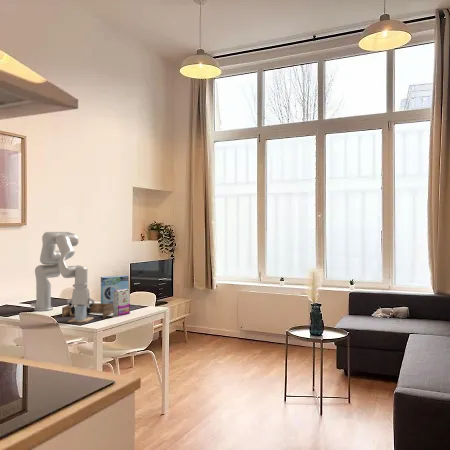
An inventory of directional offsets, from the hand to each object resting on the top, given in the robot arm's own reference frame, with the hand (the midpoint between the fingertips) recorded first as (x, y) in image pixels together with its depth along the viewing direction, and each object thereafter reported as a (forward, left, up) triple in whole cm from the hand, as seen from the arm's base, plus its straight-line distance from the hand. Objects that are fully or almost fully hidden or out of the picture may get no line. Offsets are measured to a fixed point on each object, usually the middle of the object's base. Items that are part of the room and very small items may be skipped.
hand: (80, 313), depth 290 cm
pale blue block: (0, 0, -3) cm, 3 cm away
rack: (-2, +18, -4) cm, 18 cm away
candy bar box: (+20, +20, -4) cm, 29 cm away
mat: (0, 0, -4) cm, 4 cm away
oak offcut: (-9, +18, -4) cm, 20 cm away
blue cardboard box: (+8, +44, -4) cm, 45 cm away
